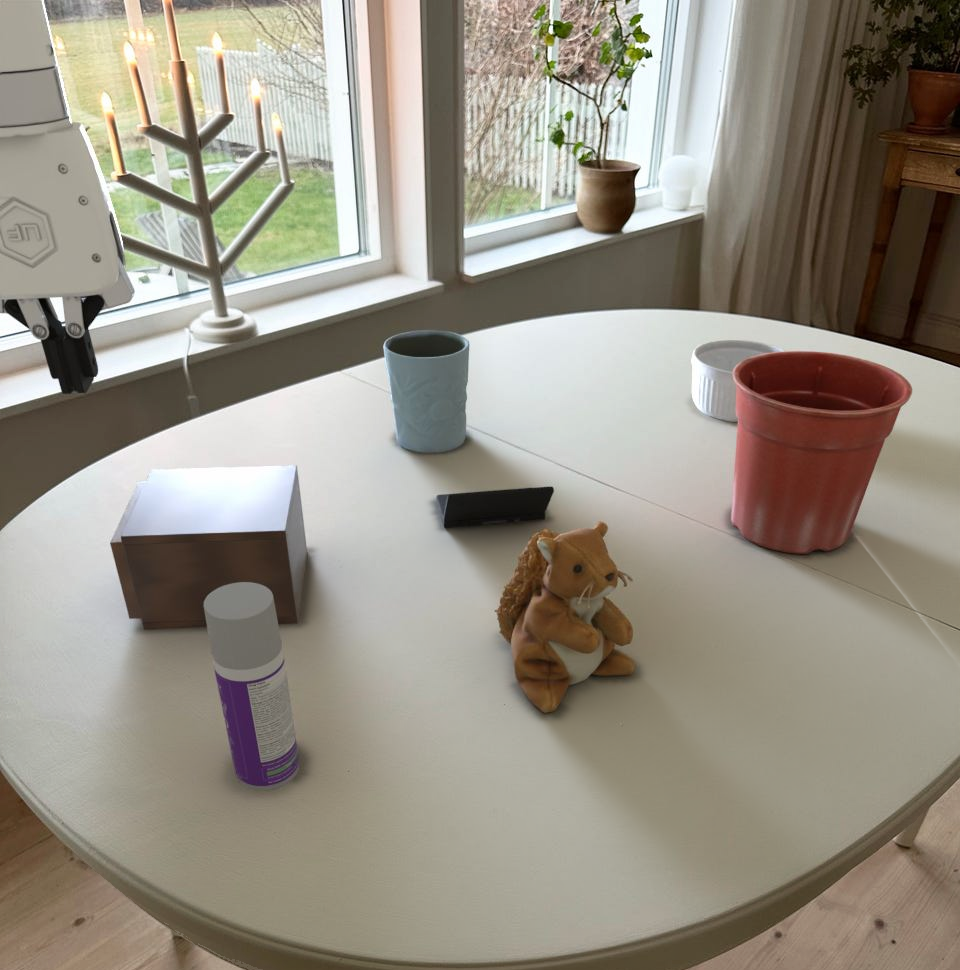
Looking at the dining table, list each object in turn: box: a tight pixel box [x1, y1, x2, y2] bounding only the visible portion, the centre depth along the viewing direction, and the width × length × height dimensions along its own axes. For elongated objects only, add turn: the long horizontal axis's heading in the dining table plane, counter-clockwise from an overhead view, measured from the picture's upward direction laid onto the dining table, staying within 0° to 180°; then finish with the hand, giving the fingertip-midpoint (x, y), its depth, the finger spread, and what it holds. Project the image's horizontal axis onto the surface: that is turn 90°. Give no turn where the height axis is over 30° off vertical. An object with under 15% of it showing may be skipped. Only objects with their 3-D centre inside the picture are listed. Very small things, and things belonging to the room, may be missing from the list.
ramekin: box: [691, 339, 787, 423], centre depth 125 cm, size 13×13×7 cm
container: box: [204, 582, 300, 792], centre depth 66 cm, size 5×5×15 cm
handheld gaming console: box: [436, 486, 555, 529], centre depth 100 cm, size 12×7×10 cm
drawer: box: [109, 481, 146, 620], centre depth 87 cm, size 14×11×8 cm
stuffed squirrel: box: [494, 520, 636, 714], centre depth 78 cm, size 10×14×13 cm
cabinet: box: [121, 464, 308, 631], centre depth 88 cm, size 14×13×10 cm
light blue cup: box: [382, 329, 470, 454], centre depth 115 cm, size 10×10×12 cm
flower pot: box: [730, 350, 913, 555], centre depth 96 cm, size 16×16×16 cm
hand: (78, 386), depth 70 cm, fingers closed
